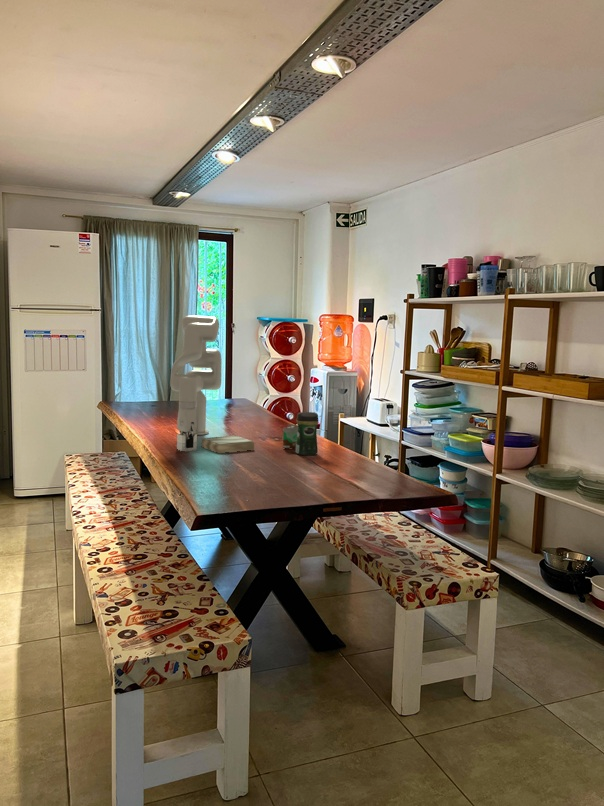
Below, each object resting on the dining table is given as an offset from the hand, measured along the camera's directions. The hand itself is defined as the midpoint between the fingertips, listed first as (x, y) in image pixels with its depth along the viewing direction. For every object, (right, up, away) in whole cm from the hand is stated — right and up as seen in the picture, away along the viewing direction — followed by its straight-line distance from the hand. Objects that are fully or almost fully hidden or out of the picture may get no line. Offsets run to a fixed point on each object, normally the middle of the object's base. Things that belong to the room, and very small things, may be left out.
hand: (186, 446), depth 285 cm
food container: (+46, -2, +15) cm, 48 cm away
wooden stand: (+17, -2, +7) cm, 19 cm away
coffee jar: (+52, -4, +3) cm, 52 cm away
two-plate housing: (0, -2, 0) cm, 2 cm away
